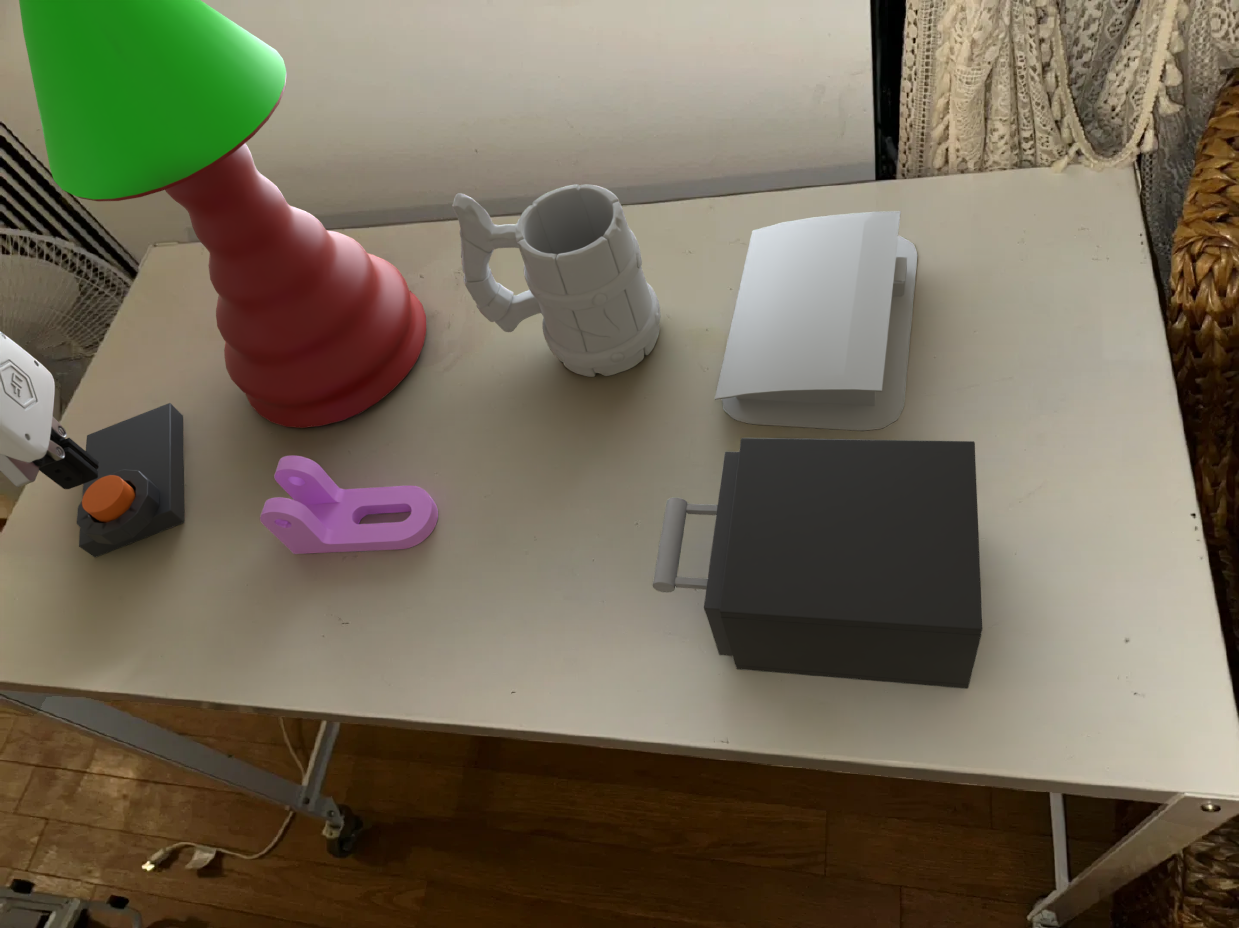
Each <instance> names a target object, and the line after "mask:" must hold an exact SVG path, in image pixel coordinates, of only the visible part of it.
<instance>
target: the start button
mask: <svg viewBox="0 0 1239 928" xmlns="http://www.w3.org/2000/svg"><path fill="white" fill-rule="evenodd" d="M134 499H135V491H134V489H133V488H132V487H131V486H130V485H129V484H127V483H126V482H125V481H124V480H123V479H121V478H120V477H119V476H115V475H109V476H105V477H102V478H100V479H98V480H97V481H95V482H94V483H93V484H92V485H91V486H90V487H89V488H88V489H87V490H86V492H85V494H84V496H83V499H82V498H81V501H82V506H83V508H84V510H85V511H87V512H88V513H89V514H91V515H92V516H93V517H94V518H96V519H97V520H99V521H101V522H110V521H112V520H115V519H117V518H119V517H120V516H121V515H122V514H123V513H124V512H126V511H127V510H128V509H129V508H130V506H131V504H132V502H133V501H134Z"/></svg>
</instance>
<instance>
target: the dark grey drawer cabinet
mask: <svg viewBox="0 0 1239 928" xmlns="http://www.w3.org/2000/svg"><path fill="white" fill-rule="evenodd" d="M738 452H739V458H738V466H737V474H736V482H735V490H734V498H733V507H732V515H731V523H730V531H729V539H728V547H727V555H726V563H725V571H724V579H723V587H722V595H721V603H720V615H721V619H722V622H723V626H724V629H725V632H726V636H727V639H728V642H729V646H730V649H731V652H732V656H731V657H732V660H733V663H734V666H735V669H737V670H741V671H742V670H743V671H753V672H754V671H755V672H766V673H776V674H777V673H779V674H788V675H789V674H791V675H802V676H813V677H826V678H836V679H838V678H839V679H848V680H849V679H850V680H860V681H861V680H862V681H872V682H885V683H897V684H906V685H919V686H932V687H943V688H944V687H945V688H954V689H966V690H967V689H969V686H970V684H971V683H970V682H971V678H972V676H973V671H974V667H975V663H976V659H977V655H978V650H979V646H980V642H981V639H982V633H983V629H984V627H983V608H982V607H983V605H982V604H983V603H982V583H981V582H982V581H981V558H980V556H981V555H980V536H979V535H980V532H979V513H978V512H979V510H978V492H977V491H978V488H977V487H978V486H977V466H976V465H977V464H976V463H977V462H976V461H977V460H976V442H975V441H973V440H966V441H965V440H921V439H920V440H919V439H918V440H915V439H914V440H913V439H911V440H909V439H906V440H905V439H853V438H852V439H851V438H850V439H848V438H847V439H846V438H788V437H787V438H786V437H785V438H783V437H782V438H781V437H780V438H778V437H777V438H776V437H741V438H740V443H739V451H738Z"/></svg>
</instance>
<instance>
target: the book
mask: <svg viewBox="0 0 1239 928" xmlns="http://www.w3.org/2000/svg"><path fill="white" fill-rule="evenodd" d="M901 212H902V211H901V210H889V211H888V210H884V211H883V210H881V211H879V210H878V211H864V212H851V213H839V214H830V215H820V216H812V217H806V218H801V219H795V220H789V221H782V222H779V223H774V224H771V225H768V226H763V227H760V228H757V229H756V228H755V229H752V230H751V235H750V239H749V243H748V249H747V253H746V257H745V262H744V266H743V271H742V274H741V279H740V284H739V288H738V292H737V297H736V301H735V306H734V311H733V315H732V319H731V324H730V329H729V333H728V337H727V340H726V341H727V342H726V345H725V346H726V347H725V351H724V356H723V360H722V363H721V364H722V365H721V369H720V373H719V377H718V382H717V387H716V391H715V394H714V401H718V400H719V401H720V400H721V403H722V410H723V411H724V412H725V413H726V414H727V415H728V416H730V417H731V418H732V419H733V420H734V421H737V422H741V423H746V424H750V425H760V426H775V427H792V428H809V429H825V430H842V431H857V432H867V431H871V430H872V431H874V430H881V429H884V428H886V427H888V426H890V425H891V424H893V423H895V422H896V421H898V420H899V418H900V416H901V414H902V413H903V410H904V408H905V401H906V390H907V380H908V379H907V377H908V369H909V368H908V365H909V355H910V344H911V335H912V334H911V333H912V322H913V321H912V320H913V311H914V298H915V288H916V277H917V265H918V251H917V249H916V246H915V243H913V242H911V241H910V240H908V239H907V238H905V237H903V236H901V235H899V234H900V233H899V232H900V224H901V214H902V213H901Z"/></svg>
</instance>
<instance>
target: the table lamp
mask: <svg viewBox="0 0 1239 928" xmlns="http://www.w3.org/2000/svg"><path fill="white" fill-rule="evenodd" d="M18 3H19V12H20V17H21V19H20V20H21V26H22V32H23V33H22V34H23V38H24V42H25V47H26V52H27V57H28V62H29V67H30V73H31V77H32V78H31V79H32V84H33V87H34V88H33V89H34V93H35V98H36V99H35V100H36V103H37V108H38V113H39V119H40V124H41V129H42V134H43V139H44V144H45V149H46V154H47V159H48V165H49V170H50V173H51V176H52V178H53V181H54V182H55V184H56V185H57V186H58V187H59V188H60V189H61V190H62V191H64V192H66V193H68V194H70V195H73V197H77V198H79V199H82V200H87V201H92V202H93V201H94V202H121V201H126V200H132V199H139V198H143V197H146V196H151V195H153V194H156V193H159V192H163V191H165V192H166V193H167V195H169V196H170V198H172V199H173V200H174V201H175V202H176V203H178V204H179V205H180V206H181V207H182V208H184V209H185V210H186V211H187V213H188V215H189V219H190V222H191V226H192V229H193V231H194V234H195V236H196V238H197V239H198V240H199V242H200V243H201V245H203V247H204V248H205V249H206V250H207V252H209V255H208V274H209V280H210V282H211V285H212V286H213V289H214V290H215V292H216V294H217V295H218V297H217V302H216V308H215V318H216V326H217V329H218V331H219V333H220V336H221V337H222V339H223V341H224V342H225V343H224V349H223V353H224V362H225V363H224V364H225V369H226V371H227V373H228V376H229V377H230V380H231V381H232V382H233V383H234V385H236V386H237V387H238V388H239V390H240V391H241V392H242V393H244V394H245V397H246V398H247V400H248V402H249V405H250V407H252V408H253V409H254V411H255V412H256V413H257V414H258V415H259V416H260V417H262V418H264V419H266V420H267V421H269V422H270V423H273V424H276V425H279V426H283V427H286V428H301V429H304V428H311V427H320V426H327V425H329V424H335V423H338V422H342V421H345V420H347V419H349V418H352V417H354V416H357V415H359V414H362V413H364V412H365V411H366V410H368V409H370V408H372V407H373V406H375V405H376V404H377V403H379V402H380V401H381V400H383V399H384V398H385V397H386V396H387V395H388V394H390V393H391V392H392V391H393V390H394V389H395V388H396V387H397V386H398V385H399V384H400V383H401V382H402V381H403V380H404V379H405V378H406V377H407V376H408V374H409V373H410V371H411V370H412V369H413V368H414V366H415V364H416V363H417V361H418V359H419V357H420V354H421V352H422V350H423V347H424V344H425V340H426V335H427V315H426V311H425V309H424V306H423V304H422V302H421V301H420V299H419V298H418V297H417V296H416V294H414V293H413V292H412V291H411V290H410V288H409V285H408V283H407V281H406V278H405V277H404V276H403V274H402V273H401V271H400V270H399V269H398V268H397V267H396V266H395V265H394V264H393V263H391V262H389V261H388V260H387V259H384V258H382V257H379V256H377V255H375V254H373V253H368V252H367V250H366V249H365V248H364V247H363V245H362V244H361V243H359V241H357V240H355V239H354V238H353V237H351V236H348V235H347V234H344V233H341V232H338V231H335V230H329V229H328V230H327V229H326V228H325V226H324V225H323V223H322V222H321V221H320V220H319V219H318V218H317V217H316V216H314V215H313V214H311V213H310V212H308V211H305V210H303V209H301V208H297V207H295V206H293V205H290V204H289V203H288V201H287V200H286V198H285V196H284V195H283V193H282V192H281V190H280V189H279V188H278V186H277V185H276V184H275V183H274V182H272V181H271V180H270V179H268V178H267V177H266V176H265V175H263V174H261V172H260V171H258V169H257V167H256V165H255V162H254V158H253V155H252V152H251V150H250V149H249V147H248V145H247V142H248V141H250V140H251V139H252V138H254V136H255V135H256V134H257V133H258V132H259V131H260V130H261V129H262V128H263V126H265V124H266V123H267V122H268V121H269V120H270V118H271V117H272V115H273V114H274V112H275V110H277V108H278V106H279V105H280V103H281V100H282V98H283V96H284V93H285V90H286V86H287V85H286V84H287V67H286V65H285V64H286V63H285V59H283V56H281V54H280V53H279V52H278V50H277V49H275V48H274V47H272V46H270V45H269V44H268V43H266V42H264V40H262V39H260V38H258V36H256V35H254V34H253V33H251V32H249V31H248V30H246V29H245V28H244V27H242V26H240V25H239V24H237V22H235V21H233V20H231V19H230V18H229V17H227V16H225V15H224V14H222V13H221V12H219V11H218V10H216V9H215V8H213V7H211V6H210V5H209V4H207V3H206V2H204V1H202V0H18Z"/></svg>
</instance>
